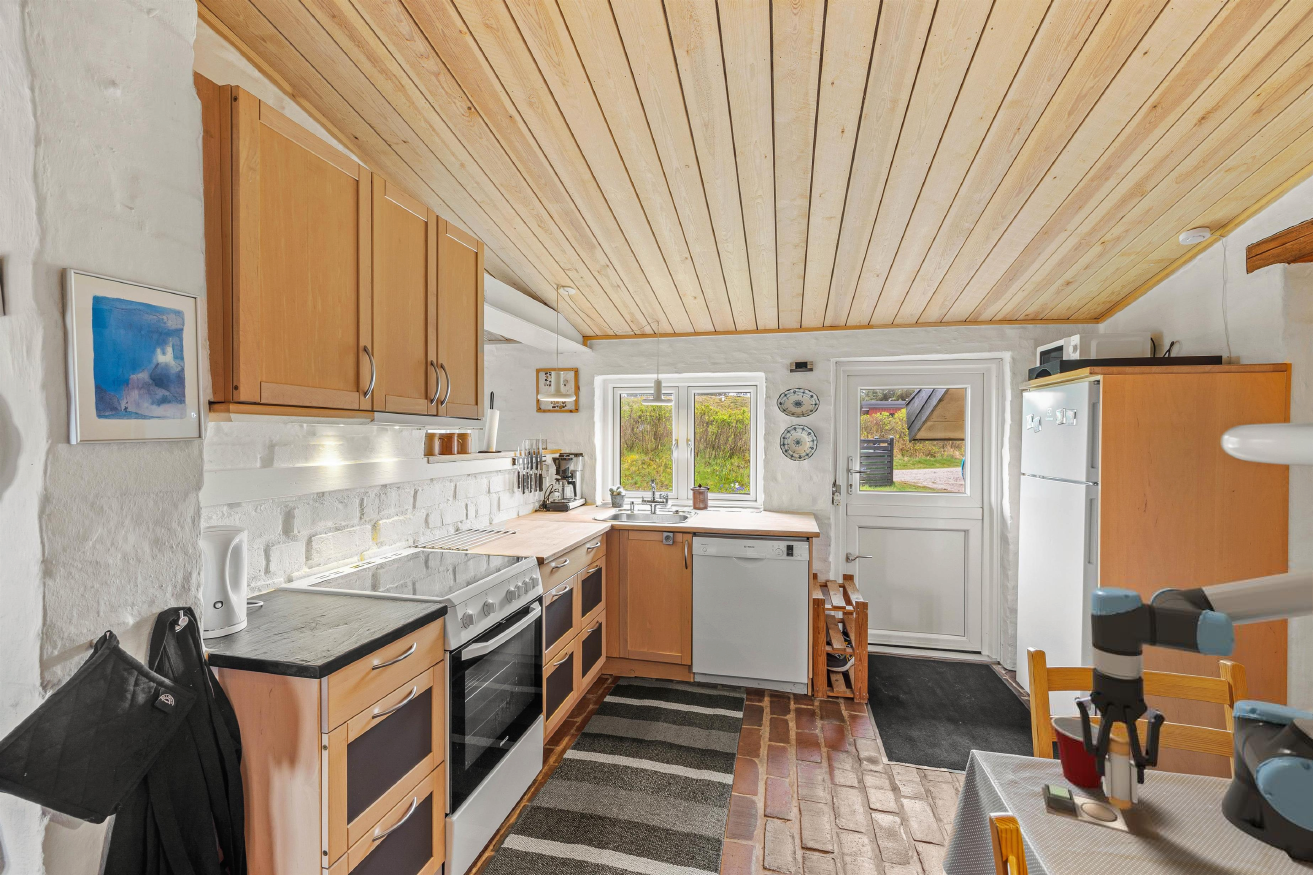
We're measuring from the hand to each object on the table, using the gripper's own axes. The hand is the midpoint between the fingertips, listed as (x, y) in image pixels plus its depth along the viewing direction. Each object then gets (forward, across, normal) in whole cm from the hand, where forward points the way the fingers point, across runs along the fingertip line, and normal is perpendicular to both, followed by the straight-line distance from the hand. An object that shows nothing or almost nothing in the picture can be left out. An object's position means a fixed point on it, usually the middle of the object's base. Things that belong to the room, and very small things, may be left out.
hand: (1120, 795), depth 107 cm
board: (+5, +4, 0) cm, 6 cm away
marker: (+2, 0, 0) cm, 2 cm away
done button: (+4, +10, 0) cm, 10 cm away
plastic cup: (+5, +4, -12) cm, 13 cm away
